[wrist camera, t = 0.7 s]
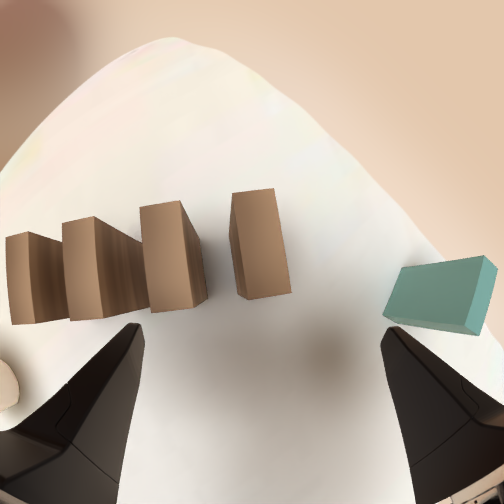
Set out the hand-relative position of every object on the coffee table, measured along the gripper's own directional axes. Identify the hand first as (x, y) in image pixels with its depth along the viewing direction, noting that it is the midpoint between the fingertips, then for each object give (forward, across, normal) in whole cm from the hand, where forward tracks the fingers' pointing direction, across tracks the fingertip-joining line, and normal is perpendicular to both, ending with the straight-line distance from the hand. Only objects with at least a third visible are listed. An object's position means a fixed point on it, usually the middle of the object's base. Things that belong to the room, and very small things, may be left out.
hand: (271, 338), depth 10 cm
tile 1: (+12, +13, +8) cm, 20 cm away
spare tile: (+12, -15, +8) cm, 21 cm away
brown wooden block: (+13, +4, +6) cm, 15 cm away
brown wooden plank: (+13, +9, +7) cm, 17 cm away
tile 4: (+14, 0, +6) cm, 15 cm away
